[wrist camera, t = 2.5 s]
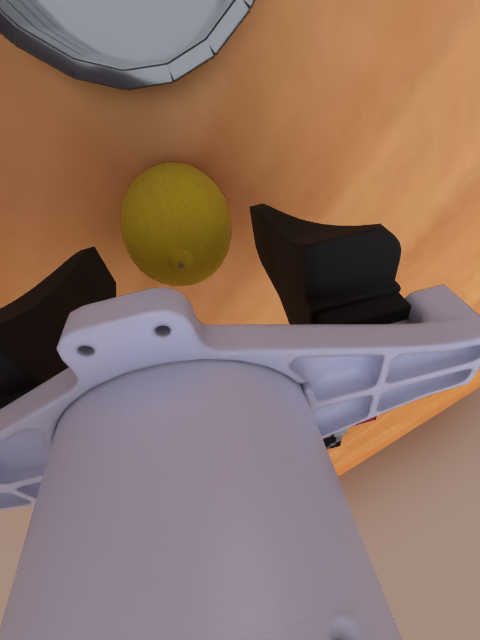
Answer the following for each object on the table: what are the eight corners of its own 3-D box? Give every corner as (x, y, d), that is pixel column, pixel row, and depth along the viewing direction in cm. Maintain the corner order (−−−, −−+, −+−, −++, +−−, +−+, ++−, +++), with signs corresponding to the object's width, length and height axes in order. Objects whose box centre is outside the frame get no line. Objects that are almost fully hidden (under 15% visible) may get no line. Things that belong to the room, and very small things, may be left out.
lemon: (232, 218, 20) (259, 290, 14) (157, 248, 20) (154, 329, 15) (198, 127, 16) (218, 175, 10) (107, 167, 16) (76, 234, 11)
